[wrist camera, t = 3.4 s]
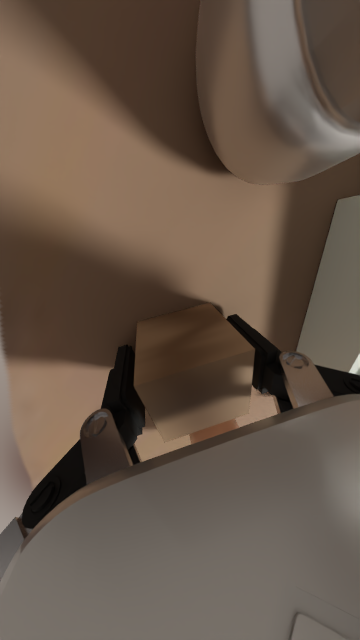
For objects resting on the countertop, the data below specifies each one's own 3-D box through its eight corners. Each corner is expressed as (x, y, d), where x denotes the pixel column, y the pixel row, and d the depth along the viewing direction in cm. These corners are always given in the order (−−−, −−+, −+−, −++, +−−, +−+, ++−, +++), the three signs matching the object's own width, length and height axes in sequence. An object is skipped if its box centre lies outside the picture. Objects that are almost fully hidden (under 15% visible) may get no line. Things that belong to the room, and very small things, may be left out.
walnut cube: (209, 302, 11) (255, 349, 6) (214, 354, 13) (249, 413, 9) (137, 321, 10) (133, 385, 6) (156, 372, 13) (164, 442, 8)
